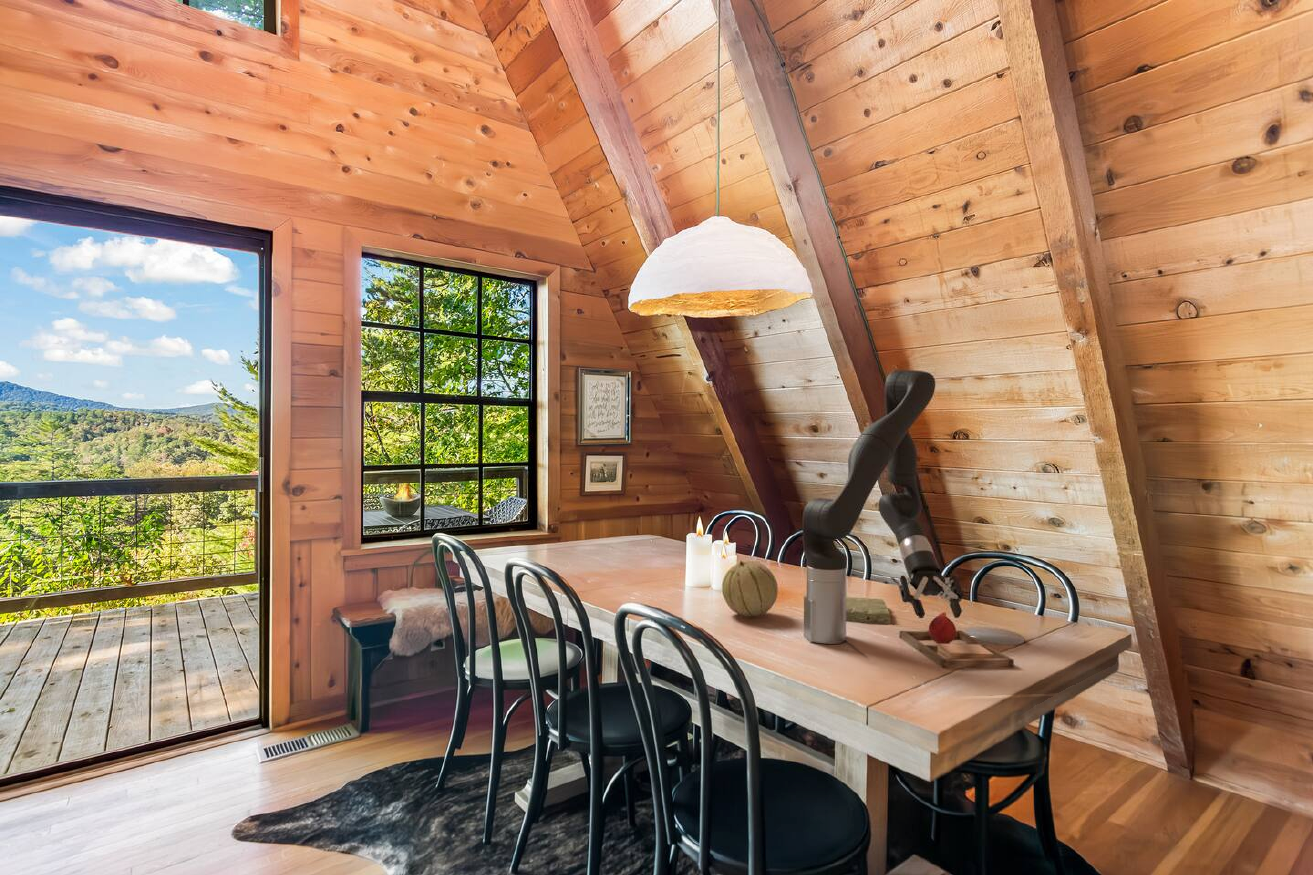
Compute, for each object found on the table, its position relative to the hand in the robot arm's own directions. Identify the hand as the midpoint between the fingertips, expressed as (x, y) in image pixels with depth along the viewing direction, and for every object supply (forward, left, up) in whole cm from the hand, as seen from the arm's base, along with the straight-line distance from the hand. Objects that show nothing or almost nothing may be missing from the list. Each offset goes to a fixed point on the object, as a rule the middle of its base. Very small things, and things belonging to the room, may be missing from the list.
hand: (940, 616), depth 162 cm
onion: (0, -1, -7) cm, 7 cm away
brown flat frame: (0, -6, -7) cm, 9 cm away
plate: (+15, +5, -7) cm, 17 cm away
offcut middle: (0, -12, -6) cm, 13 cm away
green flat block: (-11, +30, -7) cm, 33 cm away
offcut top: (0, -12, -5) cm, 13 cm away
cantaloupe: (-39, +28, -7) cm, 48 cm away
